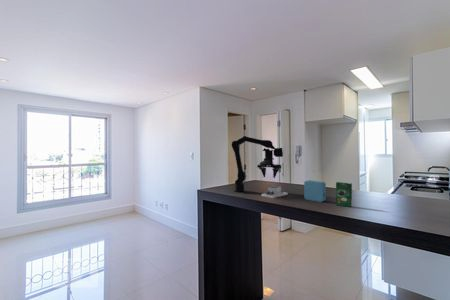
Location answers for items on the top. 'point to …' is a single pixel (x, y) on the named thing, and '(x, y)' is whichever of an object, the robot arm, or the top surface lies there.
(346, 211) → the top surface
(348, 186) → the coffee box
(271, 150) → the robot arm
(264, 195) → the pin tray
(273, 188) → the drive
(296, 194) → the top surface
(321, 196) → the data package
